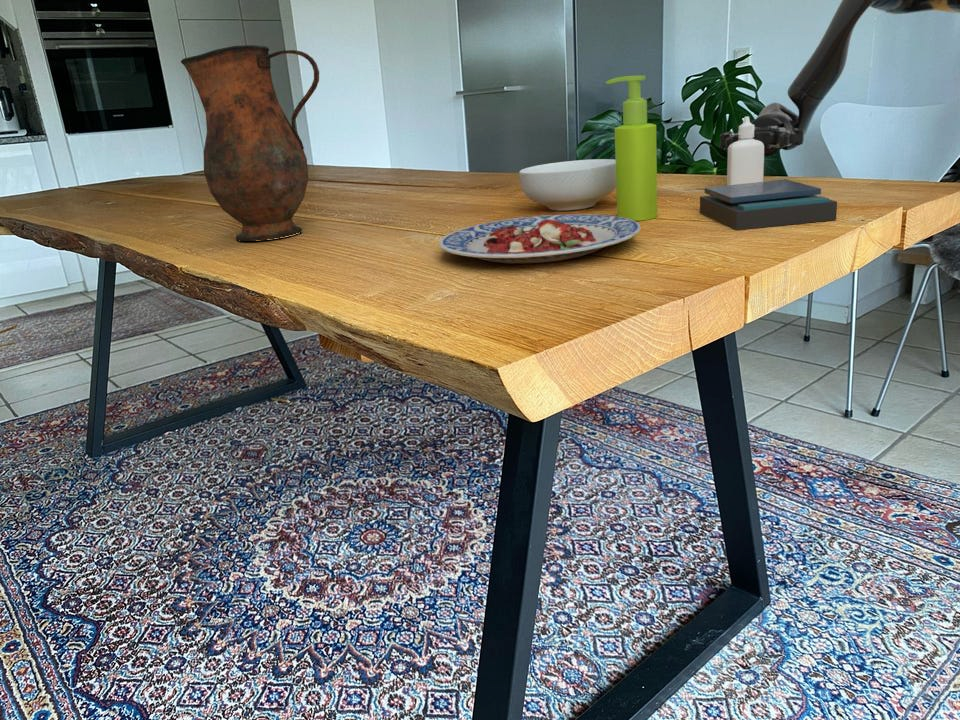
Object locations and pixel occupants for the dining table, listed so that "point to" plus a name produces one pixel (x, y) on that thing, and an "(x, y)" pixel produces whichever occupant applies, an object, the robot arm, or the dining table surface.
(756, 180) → the eye dropper bottle
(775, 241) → the dining table surface
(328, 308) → the dining table surface
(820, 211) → the scale
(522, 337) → the dining table surface
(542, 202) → the cereal bowl
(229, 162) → the pitcher
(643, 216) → the soap dispenser
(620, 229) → the ceramic plate
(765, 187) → the scale plate
